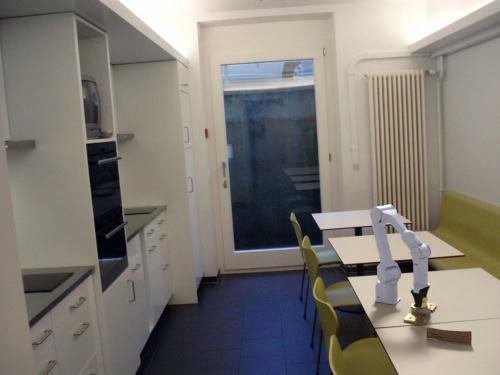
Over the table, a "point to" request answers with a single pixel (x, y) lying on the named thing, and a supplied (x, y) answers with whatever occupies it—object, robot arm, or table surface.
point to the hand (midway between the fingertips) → (420, 303)
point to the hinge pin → (424, 302)
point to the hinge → (419, 314)
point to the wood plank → (450, 336)
